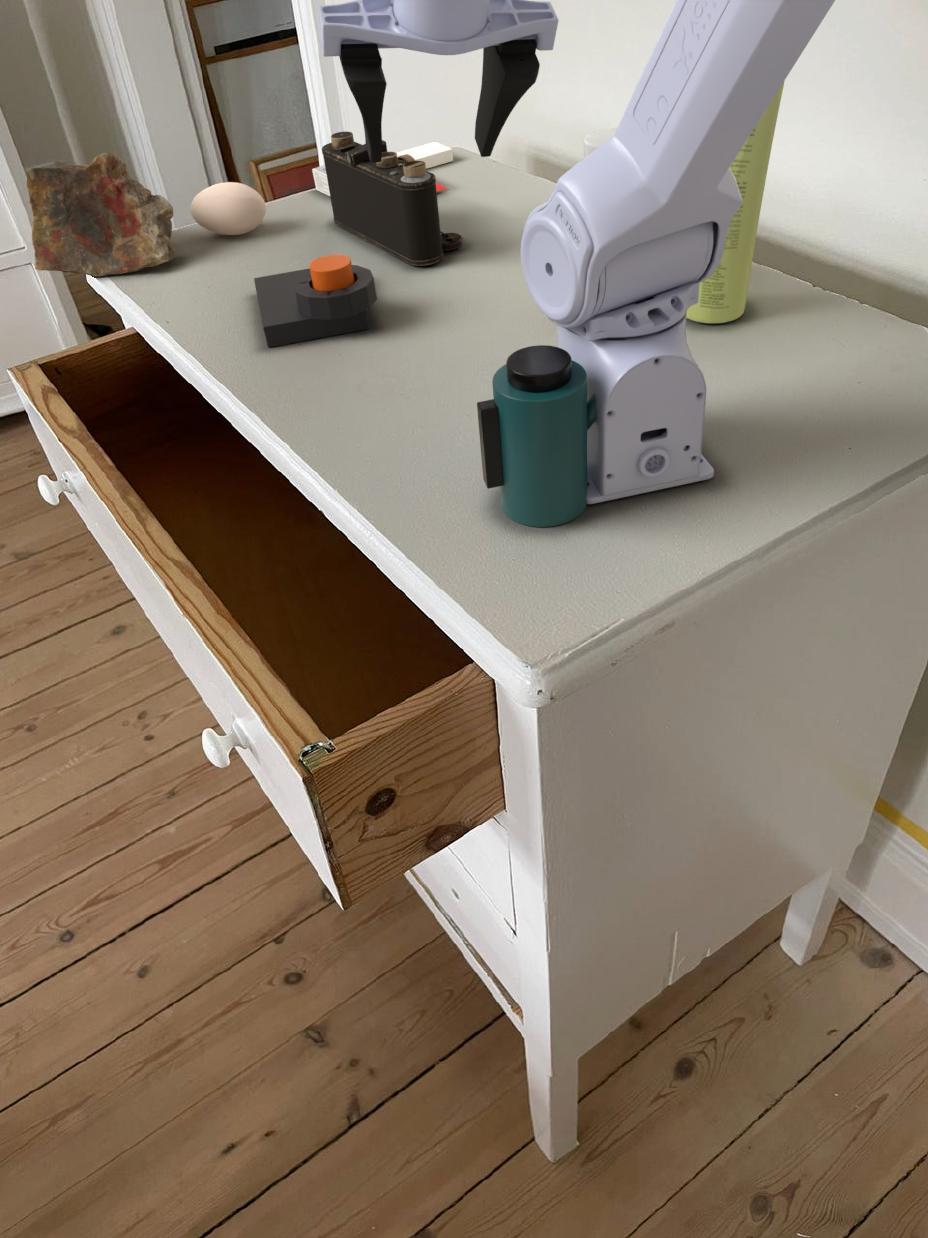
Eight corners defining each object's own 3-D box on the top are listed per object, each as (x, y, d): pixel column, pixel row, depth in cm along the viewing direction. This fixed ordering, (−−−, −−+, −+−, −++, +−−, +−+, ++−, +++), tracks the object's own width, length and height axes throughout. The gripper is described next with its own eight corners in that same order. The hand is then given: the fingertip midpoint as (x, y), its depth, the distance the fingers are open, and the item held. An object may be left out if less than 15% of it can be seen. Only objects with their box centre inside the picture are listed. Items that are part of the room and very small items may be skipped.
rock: (109, 179, 96) (38, 118, 86) (215, 193, 92) (153, 131, 82) (73, 298, 95) (-3, 250, 86) (178, 318, 91) (111, 270, 82)
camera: (477, 248, 86) (470, 152, 80) (413, 270, 83) (401, 172, 78) (383, 203, 96) (371, 116, 91) (324, 222, 94) (308, 133, 89)
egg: (274, 193, 94) (202, 197, 96) (256, 170, 90) (181, 175, 91) (273, 241, 94) (201, 244, 96) (254, 220, 90) (180, 225, 91)
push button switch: (385, 332, 75) (378, 288, 73) (269, 353, 74) (258, 309, 72) (363, 278, 83) (356, 237, 81) (258, 297, 82) (248, 256, 80)
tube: (744, 293, 75) (777, -3, 62) (761, 322, 71) (800, 13, 58) (670, 300, 75) (687, 6, 62) (683, 329, 71) (705, 23, 58)
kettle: (626, 510, 55) (631, 365, 49) (499, 538, 54) (487, 394, 48) (597, 465, 59) (598, 325, 53) (477, 490, 58) (464, 350, 52)
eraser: (396, 151, 105) (413, 160, 103) (434, 140, 107) (452, 148, 104) (397, 164, 106) (415, 172, 103) (435, 152, 108) (453, 160, 105)
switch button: (357, 288, 74) (353, 266, 73) (316, 296, 74) (311, 273, 72) (351, 273, 76) (347, 251, 75) (311, 280, 76) (306, 258, 75)
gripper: (551, -105, 58) (515, 108, 70) (307, -107, 55) (313, 116, 67) (584, -39, 55) (541, 173, 67) (327, -37, 52) (330, 185, 64)
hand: (428, 149), depth 66 cm, fingers open, 7 cm apart
